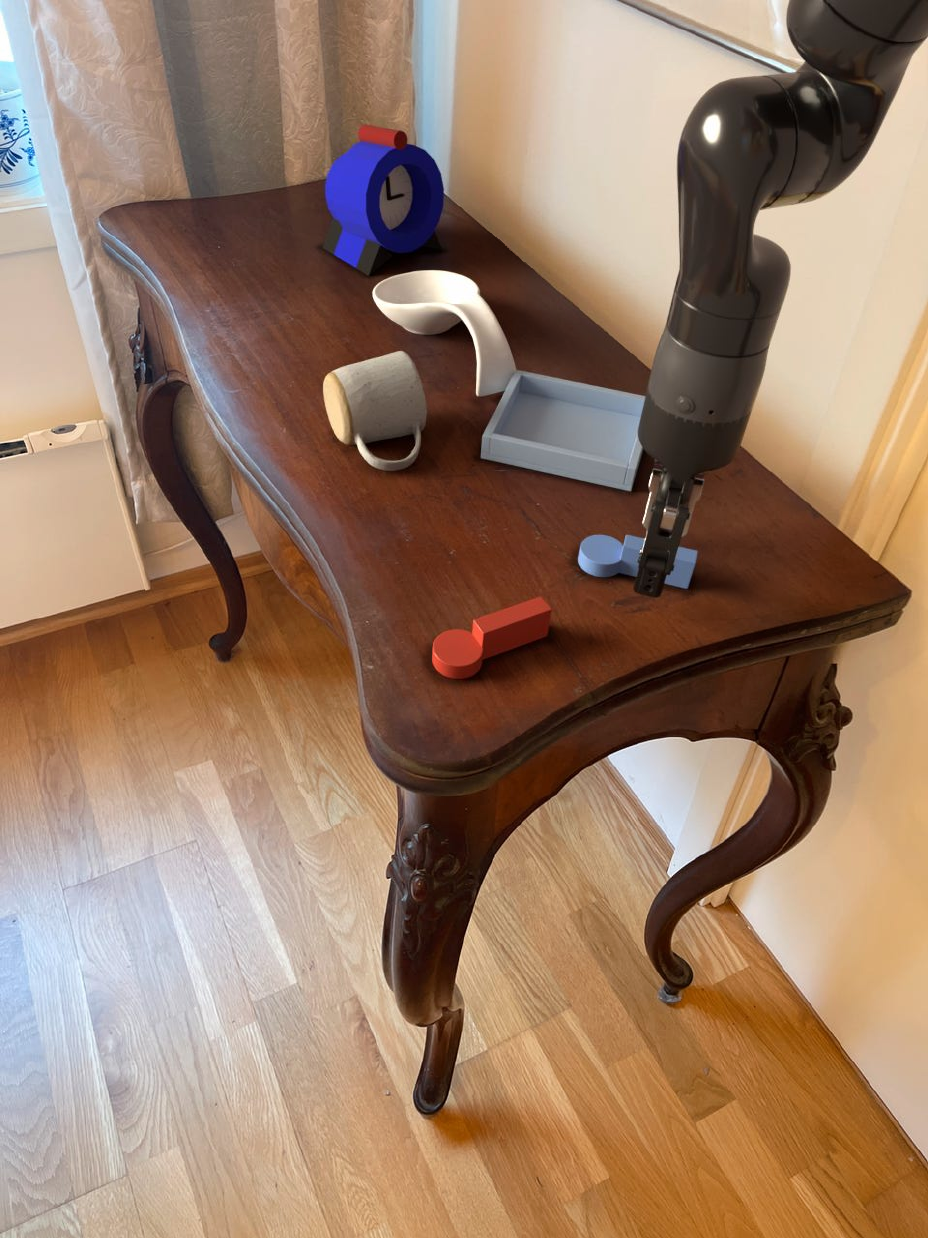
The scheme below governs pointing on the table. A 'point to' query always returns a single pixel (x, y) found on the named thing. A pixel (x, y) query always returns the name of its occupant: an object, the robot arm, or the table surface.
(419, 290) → the spoon rest
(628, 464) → the blue tray
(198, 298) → the table surface
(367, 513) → the table surface
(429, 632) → the table surface
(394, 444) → the table surface
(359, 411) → the ceramic mug
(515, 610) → the red disc with bar
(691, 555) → the blue spoon
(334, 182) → the alarm clock
